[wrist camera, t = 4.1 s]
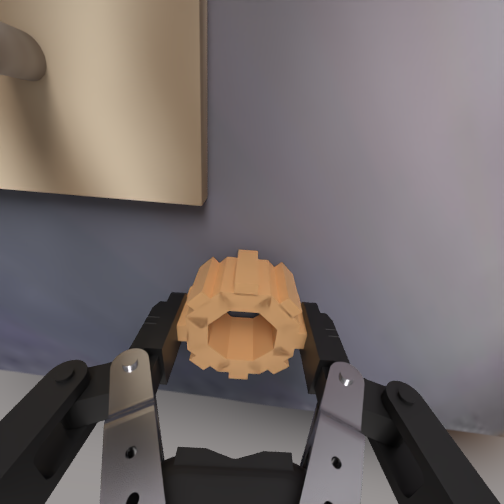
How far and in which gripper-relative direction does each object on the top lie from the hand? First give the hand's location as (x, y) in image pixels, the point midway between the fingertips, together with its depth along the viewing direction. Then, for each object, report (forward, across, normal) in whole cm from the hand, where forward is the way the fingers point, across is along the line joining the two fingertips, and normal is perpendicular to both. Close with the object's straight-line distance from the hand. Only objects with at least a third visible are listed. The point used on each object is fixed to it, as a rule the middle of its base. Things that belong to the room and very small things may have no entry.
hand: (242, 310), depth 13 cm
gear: (+1, 0, 0) cm, 1 cm away
